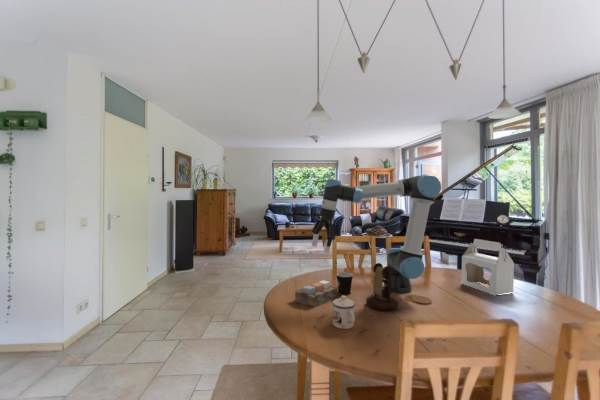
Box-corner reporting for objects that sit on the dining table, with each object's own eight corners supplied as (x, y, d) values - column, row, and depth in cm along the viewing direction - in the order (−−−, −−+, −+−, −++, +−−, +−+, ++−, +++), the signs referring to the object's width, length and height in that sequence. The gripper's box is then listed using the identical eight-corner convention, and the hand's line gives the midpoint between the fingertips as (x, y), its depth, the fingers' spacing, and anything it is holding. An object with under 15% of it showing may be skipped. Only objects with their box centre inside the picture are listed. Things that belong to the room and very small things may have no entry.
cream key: (323, 289, 153) (323, 280, 153) (329, 291, 150) (330, 282, 150) (318, 291, 150) (318, 282, 150) (324, 293, 147) (324, 283, 147)
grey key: (308, 295, 144) (308, 285, 144) (315, 297, 141) (315, 287, 141) (302, 297, 141) (302, 287, 141) (309, 299, 138) (309, 289, 138)
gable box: (513, 294, 158) (515, 243, 157) (496, 296, 153) (497, 244, 153) (477, 282, 179) (478, 237, 178) (460, 284, 174) (461, 238, 174)
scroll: (360, 302, 141) (360, 262, 141) (384, 299, 147) (384, 260, 147) (379, 314, 128) (380, 269, 128) (405, 309, 134) (406, 266, 133)
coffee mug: (352, 296, 150) (352, 277, 150) (335, 295, 152) (335, 276, 152) (352, 289, 162) (353, 271, 161) (337, 288, 163) (337, 270, 163)
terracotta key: (316, 292, 149) (316, 282, 148) (322, 294, 146) (323, 284, 145) (310, 294, 145) (310, 284, 145) (317, 296, 142) (317, 286, 142)
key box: (319, 292, 156) (319, 282, 156) (337, 297, 148) (337, 287, 148) (295, 301, 142) (295, 290, 142) (313, 307, 134) (313, 296, 134)
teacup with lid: (327, 321, 120) (328, 293, 120) (346, 318, 123) (346, 291, 123) (343, 334, 109) (344, 304, 109) (363, 330, 113) (363, 300, 112)
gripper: (311, 205, 158) (303, 242, 158) (334, 210, 135) (325, 254, 136) (322, 207, 161) (315, 244, 161) (347, 213, 139) (338, 256, 139)
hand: (319, 249), depth 149 cm, fingers open, 13 cm apart
